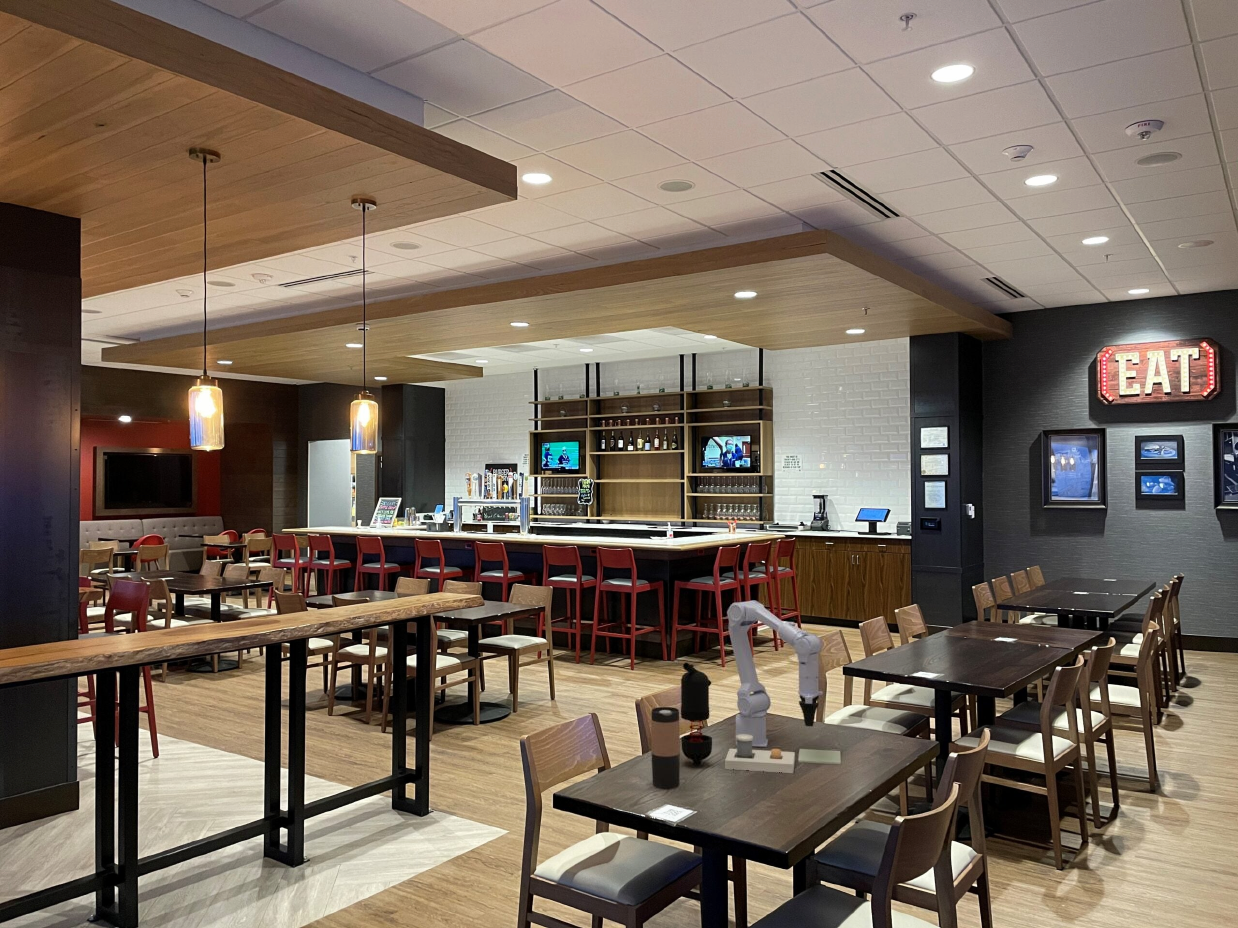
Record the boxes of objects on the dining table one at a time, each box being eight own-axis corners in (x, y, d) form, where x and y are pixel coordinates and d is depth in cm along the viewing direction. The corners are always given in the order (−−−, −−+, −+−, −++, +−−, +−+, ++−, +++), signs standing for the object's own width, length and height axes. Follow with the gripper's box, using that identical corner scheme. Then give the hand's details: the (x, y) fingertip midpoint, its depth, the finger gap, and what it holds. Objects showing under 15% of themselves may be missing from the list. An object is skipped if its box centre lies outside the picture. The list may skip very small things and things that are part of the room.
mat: (798, 761, 263) (798, 760, 263) (799, 750, 274) (799, 748, 274) (840, 764, 260) (840, 762, 260) (840, 752, 272) (840, 750, 272)
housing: (725, 768, 257) (725, 760, 257) (729, 756, 268) (729, 748, 268) (793, 773, 252) (793, 764, 252) (794, 760, 264) (794, 752, 264)
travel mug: (663, 778, 249) (662, 705, 249) (685, 783, 244) (685, 709, 244) (646, 785, 243) (645, 710, 243) (669, 791, 238) (668, 714, 238)
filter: (700, 771, 254) (699, 664, 255) (673, 766, 260) (672, 661, 260) (724, 760, 265) (723, 657, 266) (697, 755, 270) (696, 654, 271)
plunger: (770, 759, 258) (770, 750, 258) (771, 756, 261) (771, 748, 261) (780, 760, 258) (780, 751, 258) (781, 757, 260) (781, 748, 260)
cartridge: (735, 765, 259) (735, 737, 260) (737, 761, 264) (736, 733, 264) (752, 766, 258) (752, 738, 259) (753, 761, 263) (753, 734, 263)
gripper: (822, 681, 260) (823, 729, 259) (822, 672, 274) (822, 717, 274) (797, 681, 261) (798, 728, 261) (798, 671, 275) (799, 716, 275)
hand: (809, 722), depth 267 cm, fingers open, 7 cm apart
